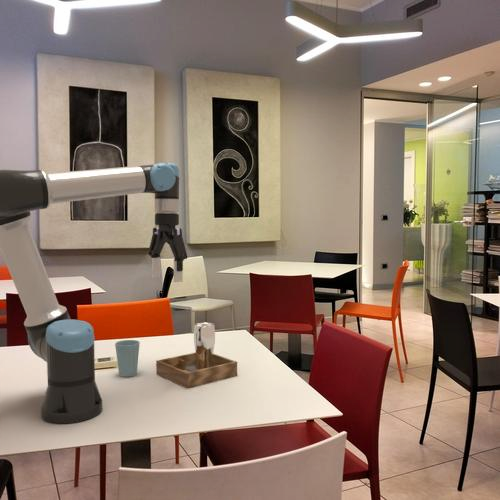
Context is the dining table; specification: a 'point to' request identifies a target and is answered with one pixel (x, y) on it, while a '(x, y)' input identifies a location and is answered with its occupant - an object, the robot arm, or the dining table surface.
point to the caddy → (188, 377)
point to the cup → (127, 357)
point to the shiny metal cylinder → (204, 344)
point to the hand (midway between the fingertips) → (166, 279)
